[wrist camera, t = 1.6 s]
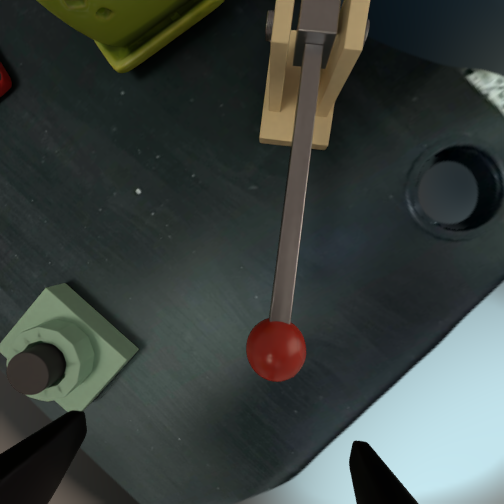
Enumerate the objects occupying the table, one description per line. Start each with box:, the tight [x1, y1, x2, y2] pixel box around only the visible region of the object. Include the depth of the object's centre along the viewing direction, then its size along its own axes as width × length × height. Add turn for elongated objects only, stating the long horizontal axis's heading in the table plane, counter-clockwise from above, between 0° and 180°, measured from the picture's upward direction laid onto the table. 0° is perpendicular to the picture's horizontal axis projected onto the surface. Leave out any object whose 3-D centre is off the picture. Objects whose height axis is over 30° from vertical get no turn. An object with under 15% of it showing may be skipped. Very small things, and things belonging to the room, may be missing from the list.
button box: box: [0, 283, 139, 412], centre depth 23 cm, size 10×8×4 cm
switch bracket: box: [259, 0, 370, 150], centre depth 17 cm, size 9×6×9 cm, turn 173°
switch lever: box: [246, 0, 341, 382], centre depth 14 cm, size 22×3×3 cm, turn 173°
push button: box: [7, 343, 66, 395], centre depth 20 cm, size 4×4×2 cm
